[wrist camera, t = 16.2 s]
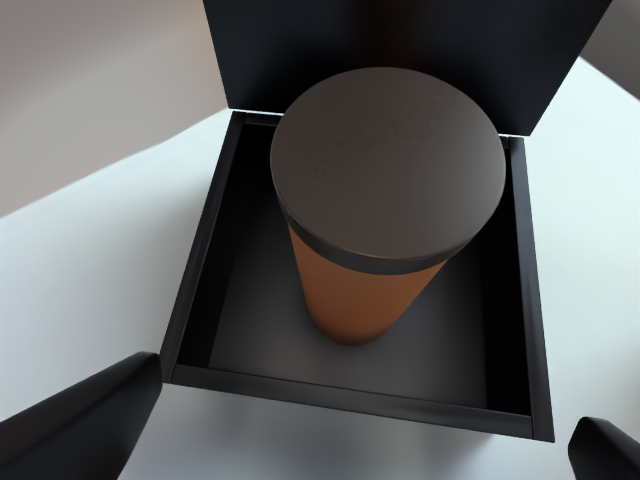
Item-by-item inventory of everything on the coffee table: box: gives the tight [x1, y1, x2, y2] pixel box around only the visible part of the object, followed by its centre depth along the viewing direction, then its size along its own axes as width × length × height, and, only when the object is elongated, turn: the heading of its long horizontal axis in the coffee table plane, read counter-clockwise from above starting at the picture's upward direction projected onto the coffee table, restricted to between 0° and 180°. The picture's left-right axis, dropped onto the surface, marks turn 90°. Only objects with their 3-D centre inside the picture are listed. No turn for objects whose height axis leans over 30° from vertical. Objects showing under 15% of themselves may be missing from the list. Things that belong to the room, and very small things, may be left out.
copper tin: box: [270, 67, 506, 346], centre depth 14 cm, size 5×5×13 cm
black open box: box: [159, 111, 555, 443], centre depth 19 cm, size 14×16×5 cm
